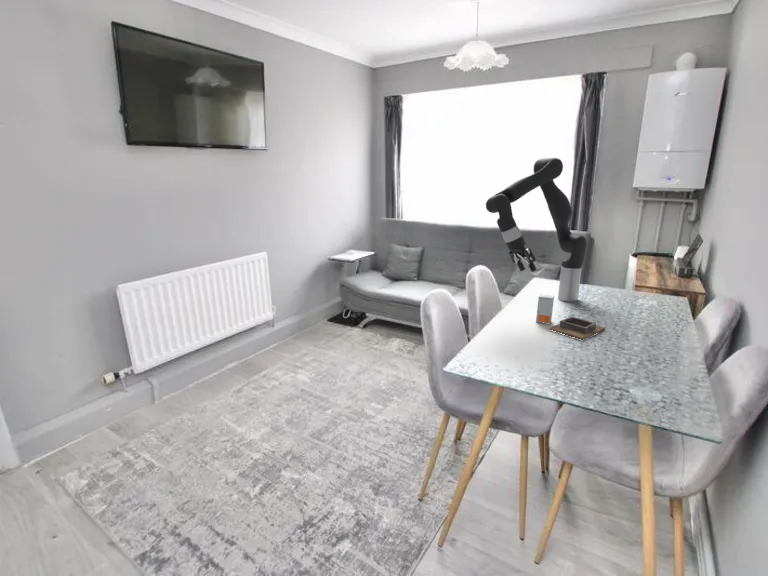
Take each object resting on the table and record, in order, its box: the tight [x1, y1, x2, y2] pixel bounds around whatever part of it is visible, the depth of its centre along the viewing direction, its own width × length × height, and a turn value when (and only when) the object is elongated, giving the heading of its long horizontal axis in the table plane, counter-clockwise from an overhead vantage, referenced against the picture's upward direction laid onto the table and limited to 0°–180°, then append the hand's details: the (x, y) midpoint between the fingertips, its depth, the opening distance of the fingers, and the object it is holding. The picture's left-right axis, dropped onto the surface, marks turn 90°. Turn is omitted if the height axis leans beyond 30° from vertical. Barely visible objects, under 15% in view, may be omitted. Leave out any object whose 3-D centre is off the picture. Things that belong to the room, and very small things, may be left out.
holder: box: [548, 316, 606, 341], centre depth 163 cm, size 18×14×4 cm
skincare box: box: [535, 293, 555, 324], centre depth 171 cm, size 6×4×12 cm
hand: (528, 270), depth 174 cm, fingers open, 8 cm apart
